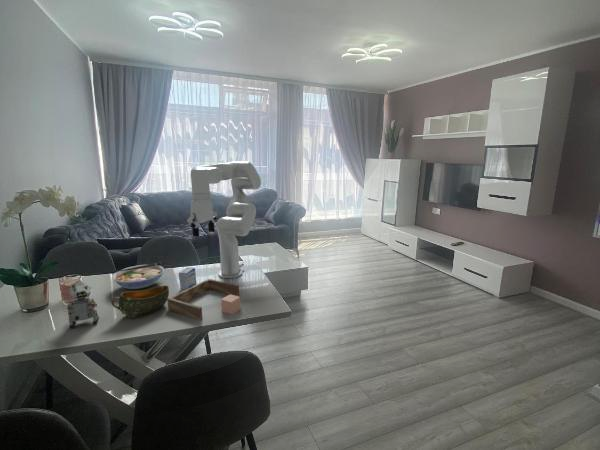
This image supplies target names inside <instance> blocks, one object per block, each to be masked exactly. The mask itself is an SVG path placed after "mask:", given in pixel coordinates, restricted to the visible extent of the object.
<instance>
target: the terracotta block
mask: <svg viewBox="0 0 600 450" xmlns="http://www.w3.org/2000/svg"><path fill="white" fill-rule="evenodd" d="M220 301H221V302H220V303H221V305H220V306H221V312H223V313H226V314H229V315H234V314H235V313H237V312H238V311H239V310H241V309H242V308H241V307H242V306H241V296H235V295H231V294H230V295H228V294H227V295H226V296H225V297H223V298H221V299H220Z"/></svg>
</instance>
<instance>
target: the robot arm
mask: <svg viewBox="0 0 600 450" xmlns="http://www.w3.org/2000/svg"><path fill="white" fill-rule="evenodd" d="M228 180H230V184H231V190H232V197H231V200H230V201H229V203H228V206H227V208H226V210H225V214H226V216H222V217H220V218H219V219H217V216H218V212H216V211H214V208H213V207H214V206H213V203H212V199H211V194H212V193H211V191H210V190H211V189H210V187H211V186H210V184H211V185H215V184H218V183H220V182H221V181H228ZM190 182H191V193H192V195H191V196H192V197H191V198H192V200H191V202H190V209H189V210H190V213H189V214H190V215H189V217H188V218H187V219H186V221H187V223H188V225H189V226H190V228H192V237H195V238H199V237H200V230H199V225H200V224H202V223H206V222H208V223H207V225H208V232H211V233H215V223H216V232H217V236H218V240H219V241H218V242H219V253H220V255H219V256H220V257H219V258H220V271H218V278H219V277H220V278H221V279H235V278H238V277H240V276H242V275H243V270H242V269H241V268H243V267H244V266H245V263H244V262H241V263H240V262H239V261H240V259H239V257H240V256H239V242H238V238H237V237H245V236H248V235H249V234H250V230H251V229H252V226H253V224H254V221H255V219H256V215H257V209H256V205H254V203H252V202H248V200H249V199H248V196H247V194H246V193H245V192H244V190H252V191H253V190H259V188H260V187H261V185H262V180H261V177H260V174H259V173H258V171H257V169H256V168H255V166H254V165H253V164H252V163H251V162H250V161H245V160H244V161H239V160H238V161H237V160H236V161H228V162H221V163H214V164H206V165H198V166H195V167H193V168H191V170H190ZM216 220H217V221H216Z"/></svg>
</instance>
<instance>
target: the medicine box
mask: <svg viewBox="0 0 600 450" xmlns="http://www.w3.org/2000/svg"><path fill="white" fill-rule="evenodd" d="M178 281H179V288H180V290H183V291H184V290H186V289H189V288H191V287H193V286H195V285H197V273H196V267H191V266H190V267H189V266H187V267H186V268H184V269H182V270H181V271H180V272H179V273H178Z"/></svg>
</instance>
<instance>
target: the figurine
mask: <svg viewBox="0 0 600 450" xmlns="http://www.w3.org/2000/svg"><path fill="white" fill-rule="evenodd" d="M91 288H92V287H90V285H88V284H86V283H85V282H76V283H75V284H72V286H71V288H70V290H69V291H70V296H71V297H72V299H73V300H74V301H71V302H69V303H68V305H67V306H66V307H67V308H66V309H67V315H68V324H69V326H68V328H69V329H70V330H71V329H74V328H75V326H76V324H77V322H79V321H84V320H85V321H86V320H89V319H92V320H93V321H92V324H93V325H97V324H98V321H99V319H100V317H99V316H98V310H97V309H96V308H97V307H98V303H96V301H95V300H94V298H89V296H90V295H91Z"/></svg>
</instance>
